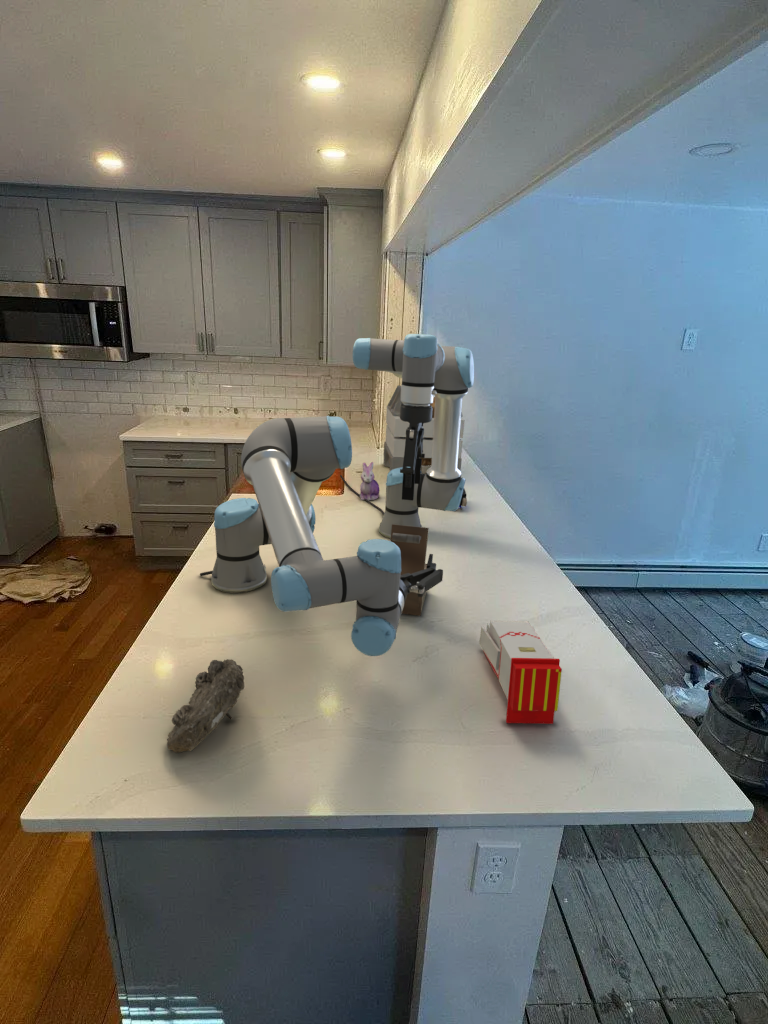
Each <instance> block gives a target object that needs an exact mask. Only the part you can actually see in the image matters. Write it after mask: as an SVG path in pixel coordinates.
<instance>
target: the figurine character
mask: <svg viewBox="0 0 768 1024" xmlns="http://www.w3.org/2000/svg"><path fill="white" fill-rule="evenodd" d="M467 503H468V498H467V492H466V489H465V488H464V490H463V494H462V498H461V501H460V505H459V507H458V509H460V511H463V507H464V508H465V507H467Z"/></svg>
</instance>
